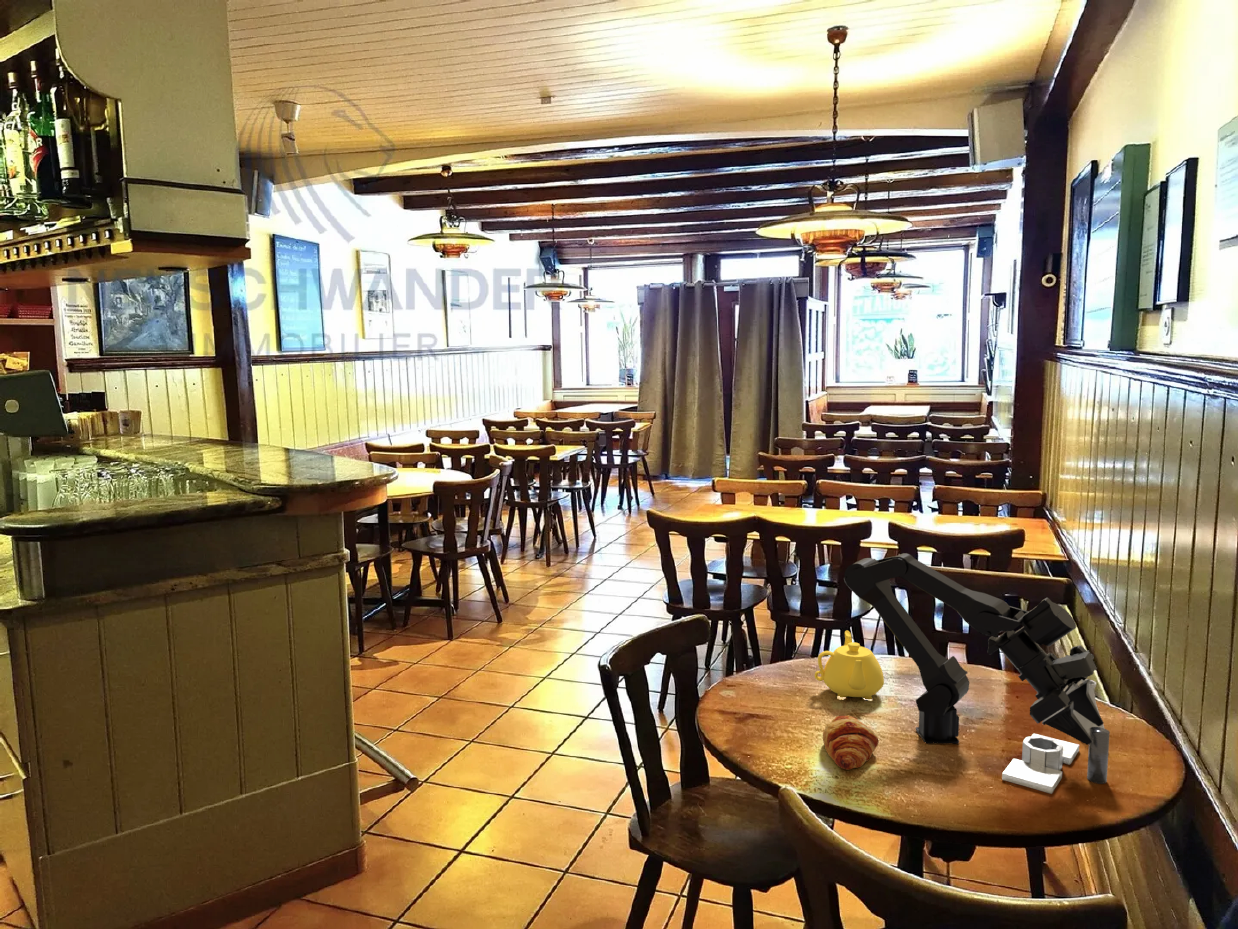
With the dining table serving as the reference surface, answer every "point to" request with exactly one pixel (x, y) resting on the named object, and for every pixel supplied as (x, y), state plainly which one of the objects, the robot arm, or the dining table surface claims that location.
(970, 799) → the dining table surface
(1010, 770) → the white piece
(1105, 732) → the hinge pin
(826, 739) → the croissant
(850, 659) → the teapot
